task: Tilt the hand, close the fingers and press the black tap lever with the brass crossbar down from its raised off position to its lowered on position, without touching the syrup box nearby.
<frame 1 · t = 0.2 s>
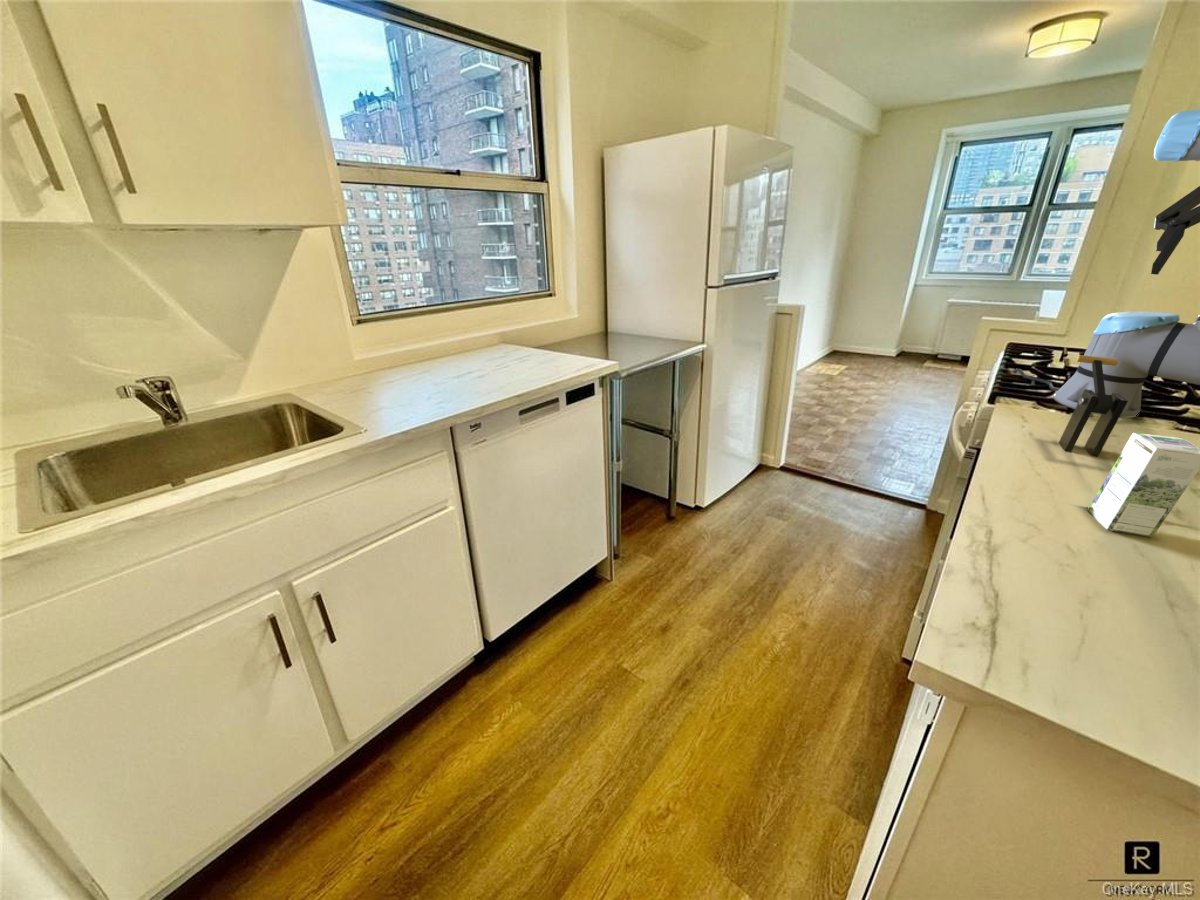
tap lever: (1099, 382, 94), point 14 cm above the worktop, hinge at 28.0°
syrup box: (1118, 525, 75), on the worktop
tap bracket: (1074, 455, 96), on the worktop
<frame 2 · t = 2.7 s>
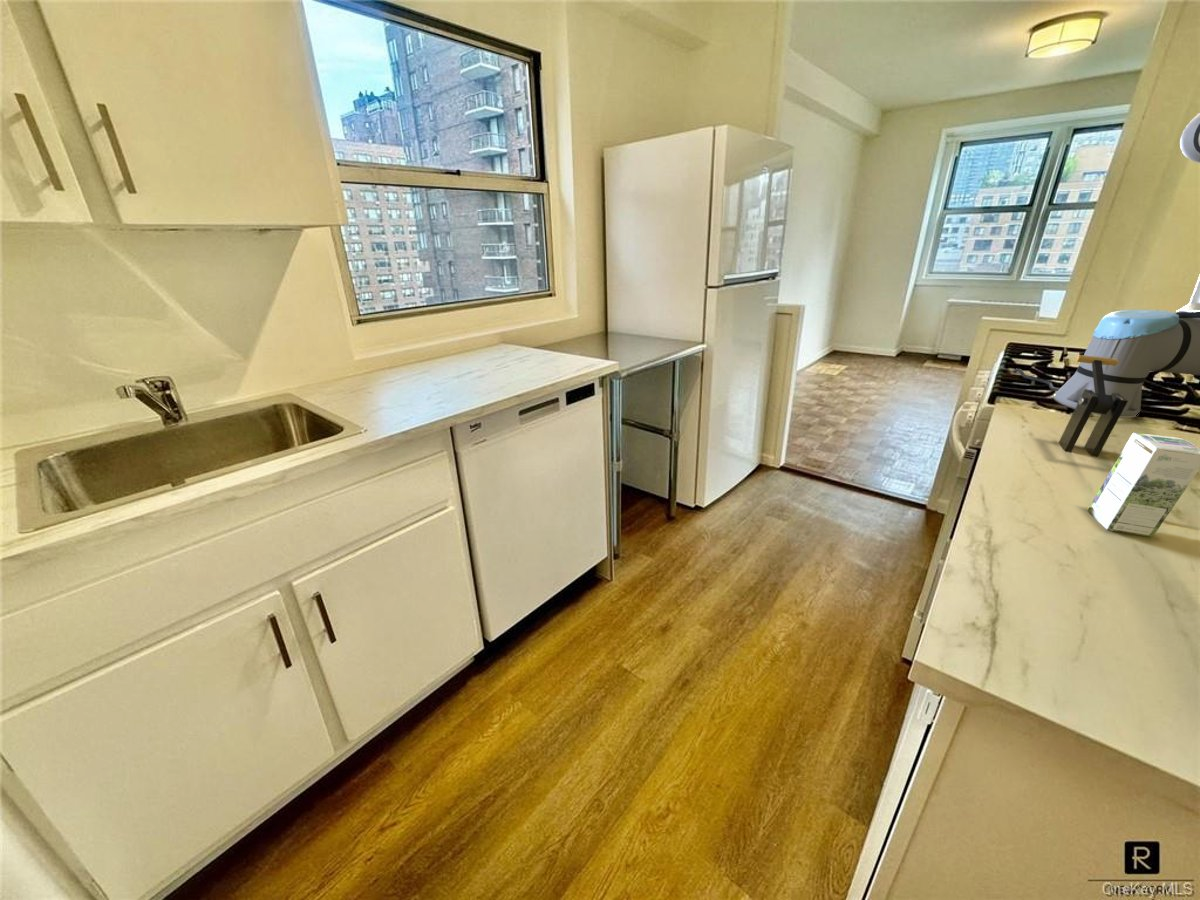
nothing on the worktop moved.
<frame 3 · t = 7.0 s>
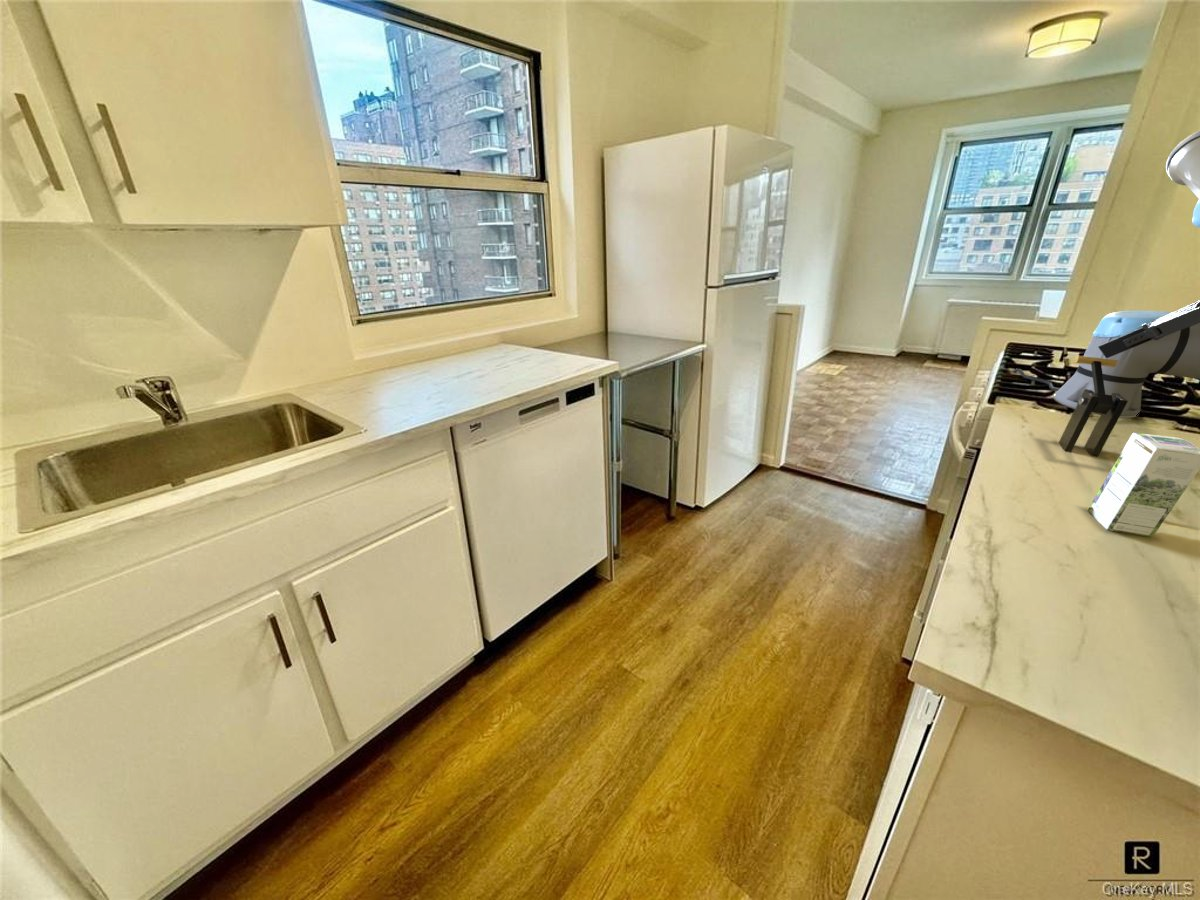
hand: (1102, 351, 96), 18 cm above the worktop, tool tilted 45°, fingers closed
tap lever: (1098, 383, 94), point 14 cm above the worktop, hinge at 26.8°, touching gripper
everything else where it was.
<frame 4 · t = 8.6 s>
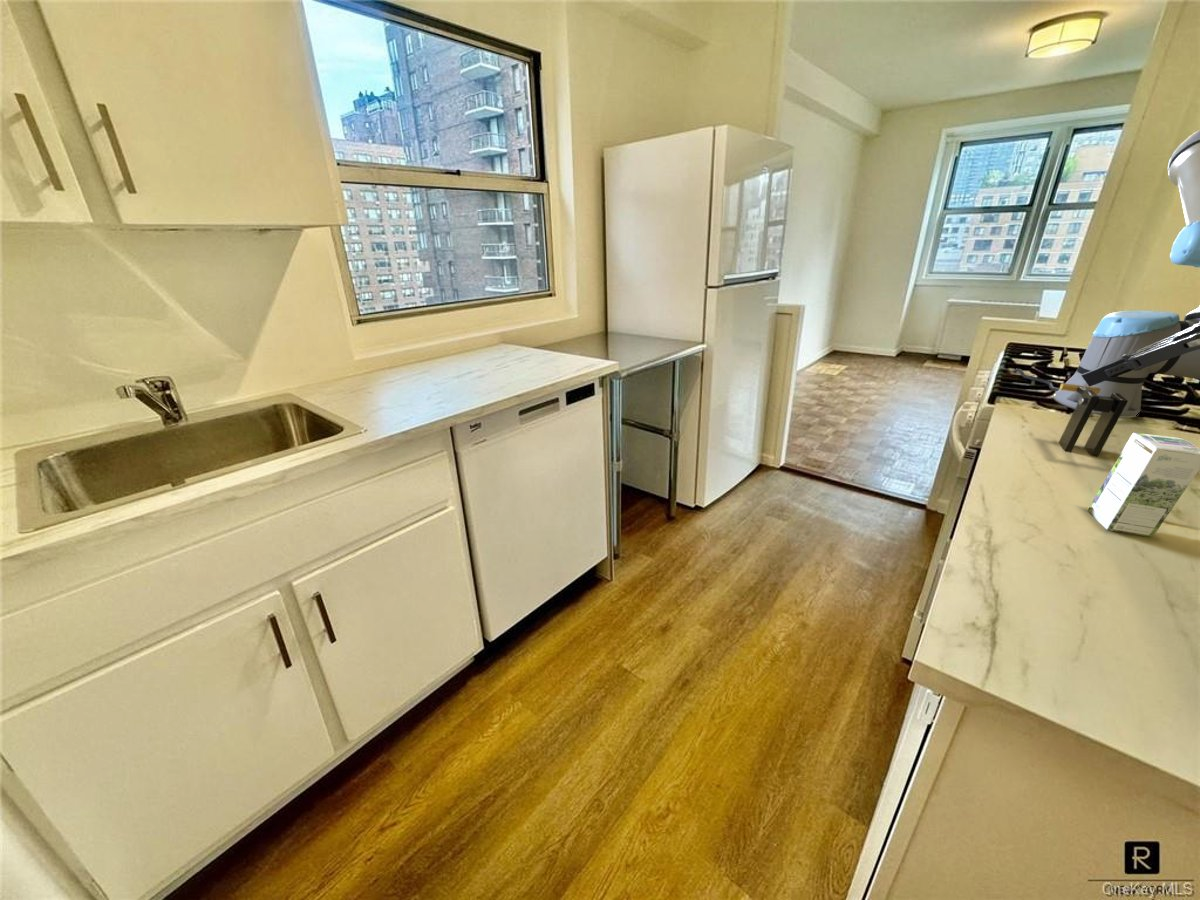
hand: (1086, 380, 100), 12 cm above the worktop, tool tilted 45°, fingers closed
tap lever: (1090, 396, 96), point 11 cm above the worktop, hinge at -4.1°, touching gripper
everything else where it was.
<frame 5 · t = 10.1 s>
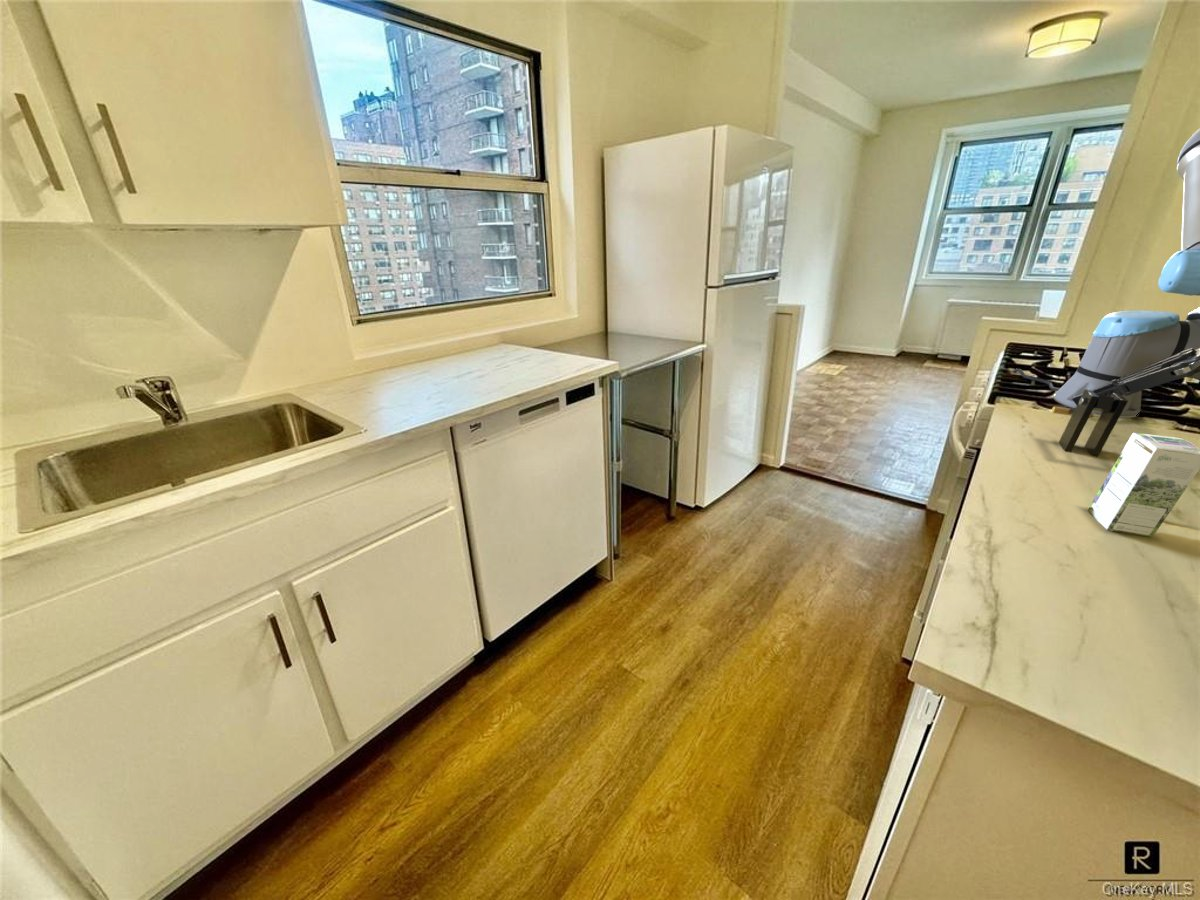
hand: (1076, 403, 101), 7 cm above the worktop, tool tilted 45°, fingers closed
tap lever: (1086, 408, 96), point 8 cm above the worktop, hinge at -28.1°, touching gripper
everything else where it was.
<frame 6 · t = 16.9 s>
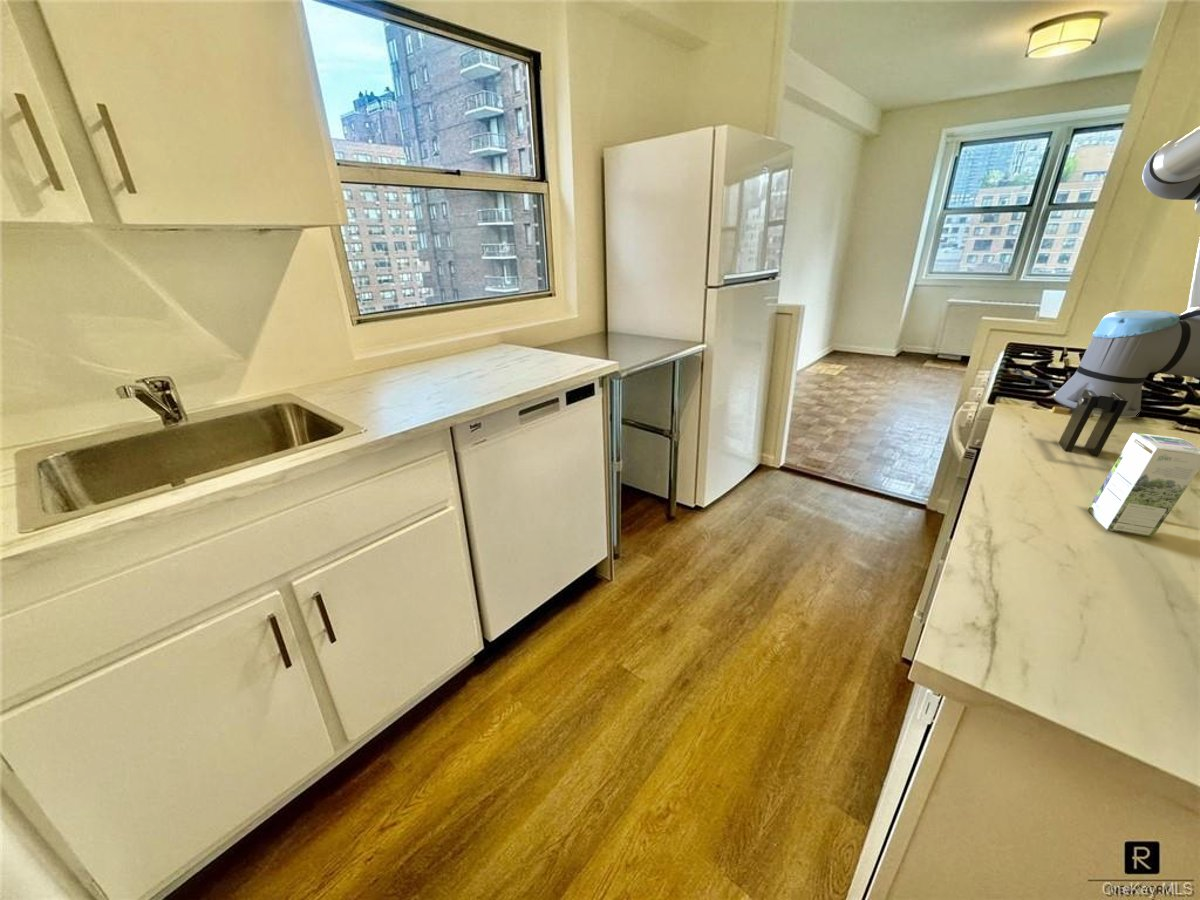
tap lever: (1086, 408, 96), point 8 cm above the worktop, hinge at -28.2°
everything else where it was.
at the end: tap lever at -28° (first picture: +28°); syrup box moved 0.2 cm from its start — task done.
